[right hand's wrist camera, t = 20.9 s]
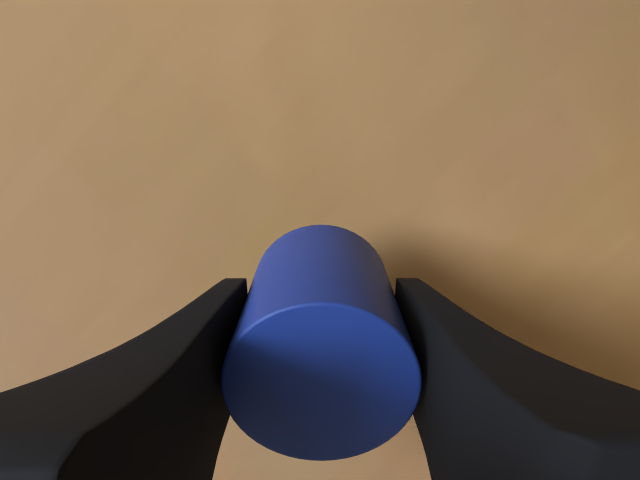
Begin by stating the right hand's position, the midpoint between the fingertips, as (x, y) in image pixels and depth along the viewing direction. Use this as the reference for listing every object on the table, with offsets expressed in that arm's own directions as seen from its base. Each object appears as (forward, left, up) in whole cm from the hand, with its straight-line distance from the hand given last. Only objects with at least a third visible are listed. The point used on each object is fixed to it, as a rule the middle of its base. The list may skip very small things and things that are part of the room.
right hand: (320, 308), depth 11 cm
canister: (0, 0, -2) cm, 2 cm away
